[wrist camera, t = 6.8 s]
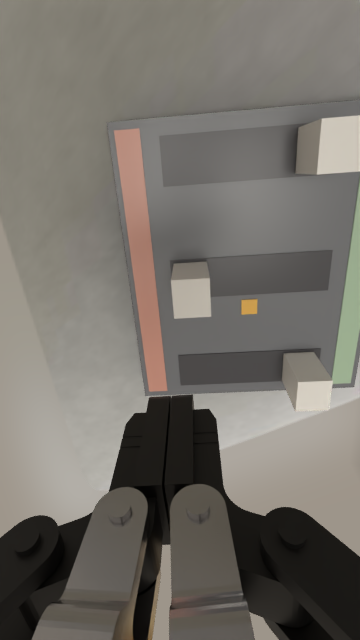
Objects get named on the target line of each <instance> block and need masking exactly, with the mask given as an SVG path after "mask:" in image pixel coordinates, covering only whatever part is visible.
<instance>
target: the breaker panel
mask: <svg viewBox="0 0 360 640" xmlns="http://www.w3.org/2000/svg"><path fill="white" fill-rule="evenodd" d="M357 115H360V100H350V101H338V102H327V103H316V104H305V105H293V106H282V107H271V108H260V109H248V110H237V111H226V112H215V113H203V114H192V115H181V116H170V117H158V118H147V119H136V120H125V121H113V122H107V128H108V135H109V142H110V149H111V156H112V163H113V170H114V177H115V185H116V192H117V199H118V206H119V213H120V220H121V227H122V234H123V241H124V248H125V255H126V262H127V269H128V276H129V283H130V290H131V297H132V304H133V311H134V318H135V325H136V332H137V340H138V347H139V354H140V361H141V368H142V375H143V382H144V389H145V396H152V395H176V394H200V393H224V392H248V391H273V390H286V388H285V386H284V384H283V381H282V370H283V355H284V353H301V352H314V353H315V355H316V356H317V358H318V359H319V361H320V362H321V363H322V365H323V366H324V368H325V369H326V371H327V372H328V374H329V375H330V377H331V378H332V380H333V385H332V388H345V387H354V385H355V379H356V373H357V367H358V362H359V356H360V171H358V172H345V173H332V174H320V175H313V174H295V172H296V157H297V141H298V127H301V126H304V125H306V124H309V123H311V122H314V121H317V120H319V119H322V118H334V117H345V116H357ZM206 261H207V265H208V271H209V276H210V298H211V317H197V318H179V319H174V311H173V299H172V288H171V277H172V271H173V265H174V264H175V263H191V262H206Z"/></svg>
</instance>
